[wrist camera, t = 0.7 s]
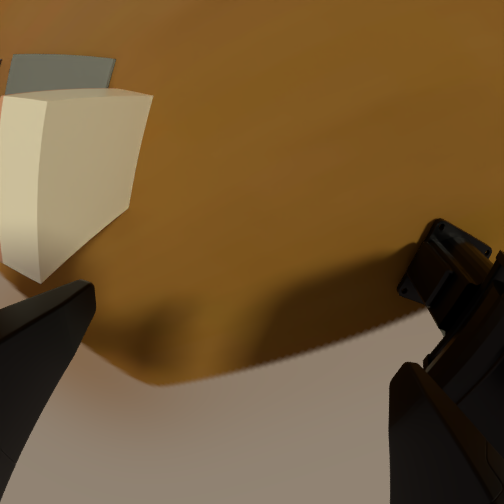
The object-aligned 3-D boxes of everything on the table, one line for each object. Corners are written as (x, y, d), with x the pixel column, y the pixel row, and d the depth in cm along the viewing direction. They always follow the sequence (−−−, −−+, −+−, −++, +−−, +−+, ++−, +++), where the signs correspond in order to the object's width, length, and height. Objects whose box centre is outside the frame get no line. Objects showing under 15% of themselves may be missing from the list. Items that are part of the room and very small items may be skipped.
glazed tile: (153, 95, 17) (47, 101, 8) (128, 208, 20) (40, 284, 11) (114, 88, 16) (1, 95, 8) (94, 196, 20) (0, 261, 11)
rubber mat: (116, 59, 15) (113, 58, 15) (86, 218, 21) (84, 220, 21) (15, 54, 15) (13, 54, 14) (0, 185, 20) (-2, 186, 20)
